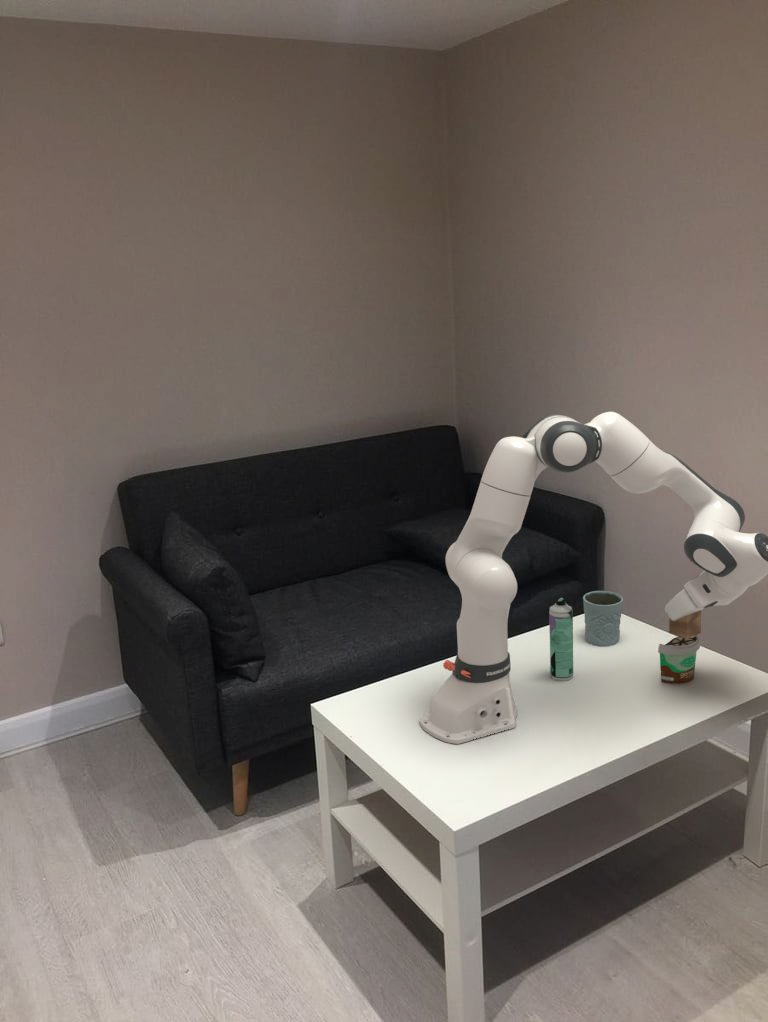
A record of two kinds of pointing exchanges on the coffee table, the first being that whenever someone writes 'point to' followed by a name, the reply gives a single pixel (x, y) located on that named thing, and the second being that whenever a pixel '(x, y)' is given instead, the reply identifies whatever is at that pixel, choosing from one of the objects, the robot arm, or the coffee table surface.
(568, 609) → the spray can
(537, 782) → the coffee table surface
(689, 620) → the walnut block
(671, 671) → the ice cream tub
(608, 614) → the plant pot
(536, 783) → the coffee table surface
